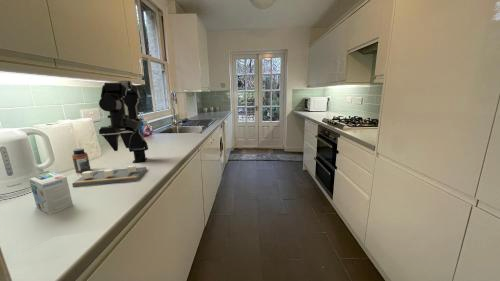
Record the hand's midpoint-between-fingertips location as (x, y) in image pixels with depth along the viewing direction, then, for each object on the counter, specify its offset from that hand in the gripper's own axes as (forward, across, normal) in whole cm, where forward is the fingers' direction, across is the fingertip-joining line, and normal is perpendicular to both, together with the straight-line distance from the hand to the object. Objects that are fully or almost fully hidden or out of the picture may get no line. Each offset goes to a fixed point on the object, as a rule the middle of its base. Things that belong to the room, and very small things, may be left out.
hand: (122, 149), depth 87 cm
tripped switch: (+12, +8, +1) cm, 14 cm away
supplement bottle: (+12, +18, +29) cm, 36 cm away
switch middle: (+12, +4, +9) cm, 15 cm away
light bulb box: (+17, -17, +16) cm, 28 cm away
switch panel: (+13, +7, +9) cm, 18 cm away
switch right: (+12, +3, +17) cm, 21 cm away
